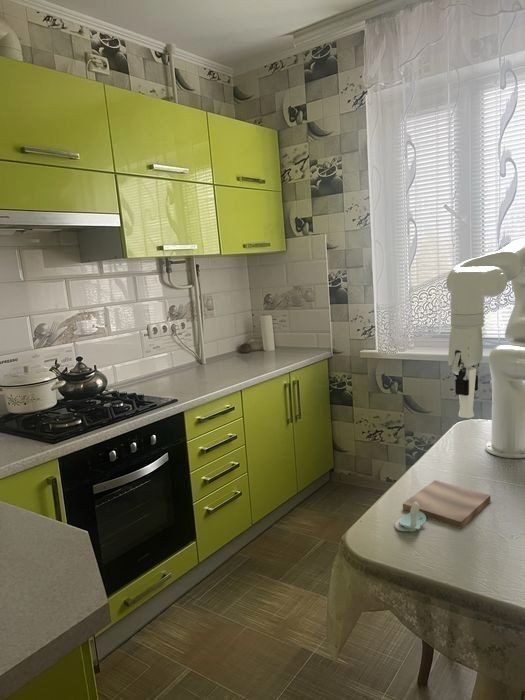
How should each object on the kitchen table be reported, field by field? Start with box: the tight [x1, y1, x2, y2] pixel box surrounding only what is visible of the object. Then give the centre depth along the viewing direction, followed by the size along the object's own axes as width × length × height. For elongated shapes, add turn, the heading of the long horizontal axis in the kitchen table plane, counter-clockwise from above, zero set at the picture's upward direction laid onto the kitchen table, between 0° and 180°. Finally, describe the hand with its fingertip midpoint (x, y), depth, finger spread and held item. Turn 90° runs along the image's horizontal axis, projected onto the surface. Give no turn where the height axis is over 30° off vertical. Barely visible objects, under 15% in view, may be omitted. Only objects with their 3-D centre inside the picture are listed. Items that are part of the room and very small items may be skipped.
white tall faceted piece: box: [458, 364, 476, 419], centre depth 129 cm, size 5×4×15 cm
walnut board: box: [402, 479, 492, 529], centre depth 121 cm, size 16×14×2 cm
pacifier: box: [394, 502, 427, 532], centre depth 113 cm, size 7×6×6 cm
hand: (466, 391), depth 129 cm, fingers closed on white tall faceted piece, 4 cm apart
